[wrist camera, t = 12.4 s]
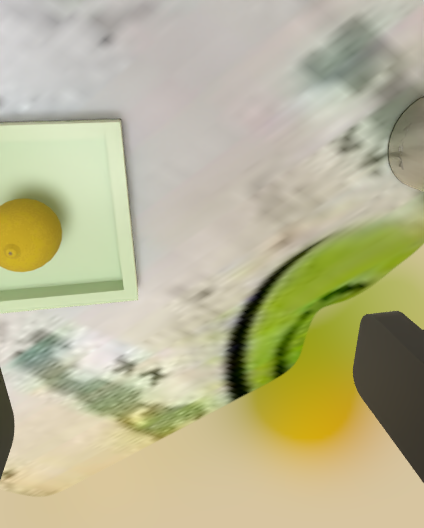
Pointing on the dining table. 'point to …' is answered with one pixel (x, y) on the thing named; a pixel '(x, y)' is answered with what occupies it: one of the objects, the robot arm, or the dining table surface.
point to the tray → (71, 212)
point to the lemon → (28, 235)
